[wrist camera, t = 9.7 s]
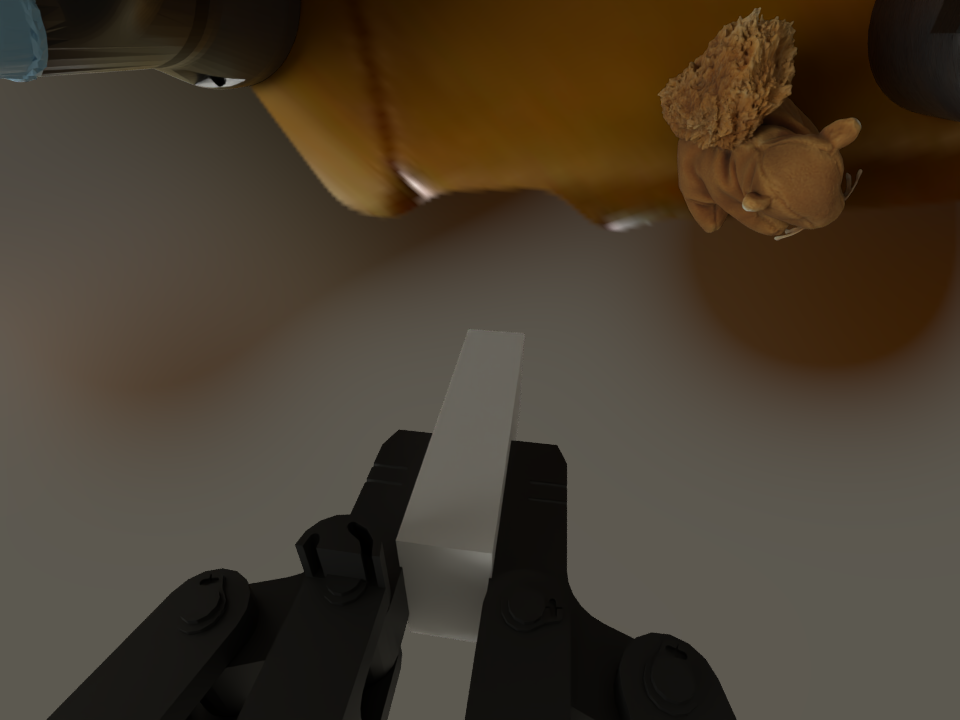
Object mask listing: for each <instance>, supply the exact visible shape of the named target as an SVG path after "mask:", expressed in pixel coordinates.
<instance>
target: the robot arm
mask: <svg viewBox="0 0 960 720" xmlns="http://www.w3.org/2000/svg"><path fill="white" fill-rule="evenodd" d="M299 17H300V0H0V78H3V79H4V78H5V79H9V80H12V81H15V82H27V81H32V80H33V79H37V77H46V76H58V75H71V74H84V73H98V72H112V71H126V70H140V69H152V68H154V69H156V70H159V71H161V72H164V73H166V74H168V75H171V76H173V77H176V78H178V79H180V80H183V81H185V82H188V83H190V84H193V85H196V86H200V87H204V88H209V89H234V88H241V87H247V86H251V85H254V84H257V83H259V82H261V81H263V80H265V79H266V78H268V77H269V76H271V75H272V74H273V73H274V72H275V71H276V70H277V69H278V68H279V67H280V66H281V65H282V63H283V62H284V60H285V59H286V57H287V56H288V54H289V52H290V50H291V47H292V45H293V43H294V40H295V37H296V33H297V29H298V24H299ZM524 336H525V335H524V333H514V332H500V331H488V330H475V329H468V332H467V335H466V338H465V341H464V344H463V347H462V349H461V352H460V355H459V358H458V361H457V364H456V367H455V370H454V373H453V376H452V379H451V381H450V384H449V387H448V390H447V393H446V396H445V399H444V402H443V405H442V408H441V410H440V413H439V417H438V419H437V422H436V425H435V428H434V431H433V433H425V432H416V431H407V430H398V431H397V432H396V433H395V434H394V435H392V436H391V437H390V438H389V439H388V440H387V441H386V442H385V443H384V444H383V445H382V447H381V449H380V451H379V453H378V455H377V458H376V460H375V462H374V467H372V468H371V471H370V473H369V475H368V477H367V482H366V483H365V484H364V486H363V488H362V490H361V493H360V495H359V497H358V499H357V501H356V504H355V506H354V508H353V510H352V512H351V514H350V515H336V516H333V517H330V518H327V519H324V520H321V521H319V522H318V523H317V524H315V525H314V526H312V527H311V528H310V529H308V530H307V531H305V533H304V534H303V535H302V537H301V538H300V539H299V540H298V542H297V543H296V544H295V546H296V549H297V552H298V555H299V558H300V561H301V564H302V566H303V569H304V572H303V573H301V574H298V575H294V576H291V577H287V578H281V579H276V580H270V581H264V582H259V583H252V584H248V581H247V580H246V579H245V578H244V577H243V576H242V575H241V574H239V573H238V572H237V571H233V570H228V569H223V568H222V569H216V570H211V571H205V572H203V573H201V574H199V575H197V576H195V577H192V578H191V579H188V580H187V581H186V582H184V583H183V584H182V585H181V586H179V587H178V588H177V589H176V590H174V591H173V592H172V593H171V594H170V595H169V596H168V597H167V598H166V599H165V600H164V601H163V602H162V603H161V604H160V605H159V606H158V607H157V608H156V609H155V610H154V611H153V612H152V613H151V614H150V615H149V616H148V617H147V618H146V619H145V620H144V621H143V622H142V623H141V624H140V625H139V626H138V627H137V628H136V629H135V630H134V631H133V632H132V633H131V634H130V635H129V636H128V638H126V639H125V641H124V642H123V643H122V644H121V645H120V646H119V647H118V648H117V649H116V650H115V651H114V652H113V653H112V654H111V655H110V656H109V657H108V658H107V659H106V660H105V661H104V662H103V663H102V664H101V665H100V666H99V667H98V668H97V669H96V670H95V671H94V672H93V673H92V674H91V675H90V676H89V677H88V678H87V679H86V680H85V681H84V682H83V683H82V684H81V685H80V686H79V687H78V688H77V689H76V690H75V691H74V692H73V693H72V694H71V695H70V696H69V697H68V698H67V699H66V700H65V701H64V702H63V703H62V704H61V705H60V706H59V708H57V709H56V711H55V712H54V713H53V714H52V715H51V716H50V717H49V718H48V719H47V720H387V719H388V715H389V711H390V707H391V703H392V700H393V696H394V692H395V688H396V685H397V681H398V677H399V673H400V669H401V659H402V650H401V642H402V639H403V635H404V631H405V628H406V624H407V621H408V623H409V630H410V632H414V633H420V634H426V635H432V636H438V637H445V638H451V639H457V640H464V641H470V642H476V643H477V644H476V651H475V657H474V663H473V670H472V677H471V683H470V689H469V696H468V702H467V709H466V715H465V720H736V717H735V715H734V713H733V711H732V708H731V706H730V704H729V702H728V700H727V697H726V695H725V693H724V691H723V688H722V686H721V684H720V682H719V680H718V678H717V676H716V675H715V673H714V672H713V670H712V668H711V667H710V665H709V664H708V662H707V661H706V659H705V658H704V657H703V656H702V655H701V654H700V653H698V652H697V651H696V650H695V649H694V648H693V647H692V646H691V645H690V644H688V643H686V642H684V641H682V640H680V639H678V638H676V637H674V636H672V635H668V634H660V633H649V634H646V635H643V636H640V637H636V638H635V639H633V638H631V637H630V636H628V635H625V634H624V633H621V632H619V631H617V630H615V629H613V628H611V627H609V626H607V625H605V624H603V623H602V622H600V621H599V620H597V619H596V618H594V617H592V616H591V615H590V614H589V613H588V612H587V611H586V610H584V608H583V607H581V605H580V604H579V602H578V601H577V599H576V598H575V597H574V595H573V593H572V590H571V588H570V585H569V583H568V576H567V463H566V461H565V459H564V457H563V455H562V453H561V452H560V450H559V448H558V446H557V445H550V444H540V443H532V442H523V441H516V437H517V429H518V421H519V414H520V398H521V383H522V366H523V351H524Z"/></svg>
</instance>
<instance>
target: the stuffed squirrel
mask: <svg viewBox="0 0 960 720" xmlns="http://www.w3.org/2000/svg"><path fill="white" fill-rule="evenodd" d="M760 10H761V8H758V9H757V8H755V9H754V11H753V12H752V13H751V14H750V15H749V16H747V18H746V17H745V18H744V19H742V18H741V16H739V19H738V21H737V22H732V23H730V24H728V25H724V28H722V30H721V31H719V33H718V34H717V36H716V37H715V38H714V39H713V40H712V41H710V42H709V47H708V49H707V50H706V51H705V52H704V54H703V56H701V55H700V57H699V58H696V59H695V61H694V63H693V62H690V63H689V67H688V68H686V69H684V71H683V73H682V74H679V75H678V76H677V77H675V78H672V79H670V78H669V83H667V84H666V87H665V88H664V89H662V90H661V92H660V93H658V96H660V97H662V98H661V106H662V108H663V112H662V113H663V118H664V119H665V121H667V124H669V125H670V127H671V131H673V133H674V134H675V136H676V137H679V138H680V139H679V142H678V153H677V162H678V176H679V188H680V190H681V192H682V194H683V196H684V199H685V201H686V203H687V206H688V208H689V210H690V212H691V214H692V215H693V217H694V219H695V220H696V221H697V223H698V224H699V225H700V226H701V227H702V228H703V229H704V231H705V232H709V233H711V232H713V231H716V230H719V229H720V227H721V226H722V225H723V223H724V221H725V220H726V217H727V215H728V214H730V215H731V216H733V217H734V218H735V219H737V220H738V221H739V222H741V223H743V224H744V225H746V226H747V227H748V228H750V229H752V230H754V231H756V232H759V233H762V234H765V235H780V234H782V233H783V231H784V230H785V229H786V228H787V227H788V224H791V225H796V226H797V228H793V229H791V230H787V229H786V230H785V233H786V234H787V233H790V232H793V233H791V234H787V235H783V236H778V237H775V240H780V239H781V238H785V237H788V236H791V235H794V234H796V233H798V232H800V231H801V230H804V229H815V228H820V227H825V226H826V225H828V224H830V223H831V222H833V221H834V220H836V219H837V218H838V217H839V215H840V214H841V212H842V210H843V209H844V205H845V200H846V199H847V198H848V197H849V195H850V194H851V193H852V191H853V189H854V188H855V186H856V184H857V182H858V180H859V177H860V175H861V173H862V170H861V169H860V170H859V171H858V172H857V175H856V182H855V184H854V185H853V187H852V188H851V175H850V174H849V173H846V180H847V188H846V191H845V193H844V194H843V193H842V189H841V186H840V185H841V182H842V177H843V172H844V164H843V159H842V156H841V154H840V152H839V149H841V148H843V147H845V146H847V145H849V144H850V143H851V142H853V141H854V140H855V139H856V138H857V136H858V134H859V132H860V130H861V123H860V122H859V120H858V119H856V118H852V117H851V118H848V119H840V120H837V121H835V122H833V123H832V124H830V125H828V126H826V127H825V128H823V130H822V131H821V132H820V133H819V131H818V130H817V128H816V127H815V125H814V124H813V123H812V122H811V120H810V119H809V118H808V117H807V116H806V115H805V114H804V113H803V112H802V111H801V110H800V109H799V108H798V107H797V106H795V105H794V103H793V102H792V100H791V99H789V98H788V96H789V95H790V94H791V93H792V92H791V89H792V85H791V80H792V79H793V77H794V75H795V74H794V73H795V67H794V62H795V61H794V60H793V58H794V57H795V56H796V55H797V54H798V53H797V48H796V47H794V44H793V43H794V41H795V39H793V38H792V37H793V34H794V33H795V31H796V30H794V29H793V27H791V25H792V24H793V22H794V21H792V22H791V23H789V22H786V20H785V19H784V20H782V21H781V20H778V18H779V17H778V16H777V17H776V18H775V19H772V20H770V21H768V20H766V21H765V20H764V19H763V14H762V15H761V19H760V22H759V23H758V20H759V18H758V15H759V13H760ZM850 189H851V190H850Z"/></svg>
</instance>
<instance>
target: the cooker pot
mask: <svg viewBox="0 0 960 720" xmlns="http://www.w3.org/2000/svg"><path fill="white" fill-rule="evenodd" d="M868 55H869V61H870V66H871V70H872V73H873V75H874V78H875V80H876V82H877V84H878V85H879V87H880V88H881V90H882V91H883V93H884V94H885V95H886V96H887V97H888V98H889V99H890V100H892V101H893V102H894V103H896V104H897V105H899V106H900V107H902V108H905V109H907V110H909V111H912V112H916V113H920V114H924V115H929V116H933V117H938V118H943V119H948V120H953V121H958V122H960V0H876V1H875V5H874V8H873V11H872V15H871V20H870V25H869V33H868Z"/></svg>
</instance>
